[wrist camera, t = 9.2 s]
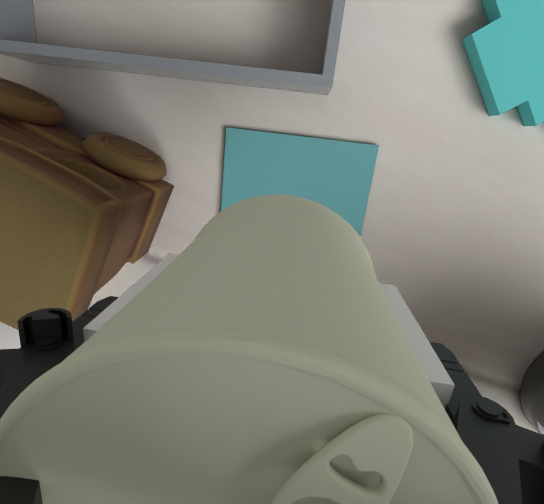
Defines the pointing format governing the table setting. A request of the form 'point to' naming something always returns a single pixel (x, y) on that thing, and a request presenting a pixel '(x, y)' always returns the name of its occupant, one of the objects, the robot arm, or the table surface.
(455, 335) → the table surface
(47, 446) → the can
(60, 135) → the wooden toy train
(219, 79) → the crate
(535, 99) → the alien figure
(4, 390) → the robot arm
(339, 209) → the mat
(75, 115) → the table surface
